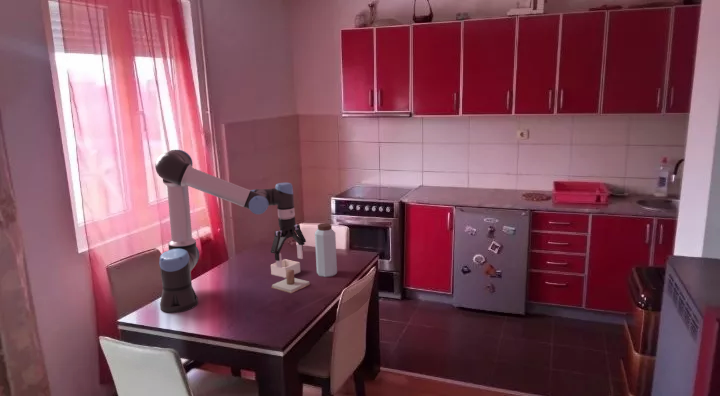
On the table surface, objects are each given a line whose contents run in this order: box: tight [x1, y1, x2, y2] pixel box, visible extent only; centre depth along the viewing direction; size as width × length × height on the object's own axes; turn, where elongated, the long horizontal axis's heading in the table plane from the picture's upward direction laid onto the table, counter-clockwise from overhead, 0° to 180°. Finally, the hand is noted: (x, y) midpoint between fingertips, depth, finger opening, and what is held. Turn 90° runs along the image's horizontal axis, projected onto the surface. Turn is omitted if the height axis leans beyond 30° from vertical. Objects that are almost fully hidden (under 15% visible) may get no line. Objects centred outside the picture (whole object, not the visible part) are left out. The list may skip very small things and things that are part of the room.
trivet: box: [270, 283, 311, 294], centre depth 233 cm, size 13×13×1 cm
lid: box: [271, 269, 310, 294], centre depth 232 cm, size 12×12×7 cm
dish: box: [270, 258, 301, 279], centre depth 249 cm, size 10×10×6 cm
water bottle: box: [314, 222, 338, 278], centre depth 244 cm, size 10×10×25 cm
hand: (290, 262), depth 230 cm, fingers open, 13 cm apart
